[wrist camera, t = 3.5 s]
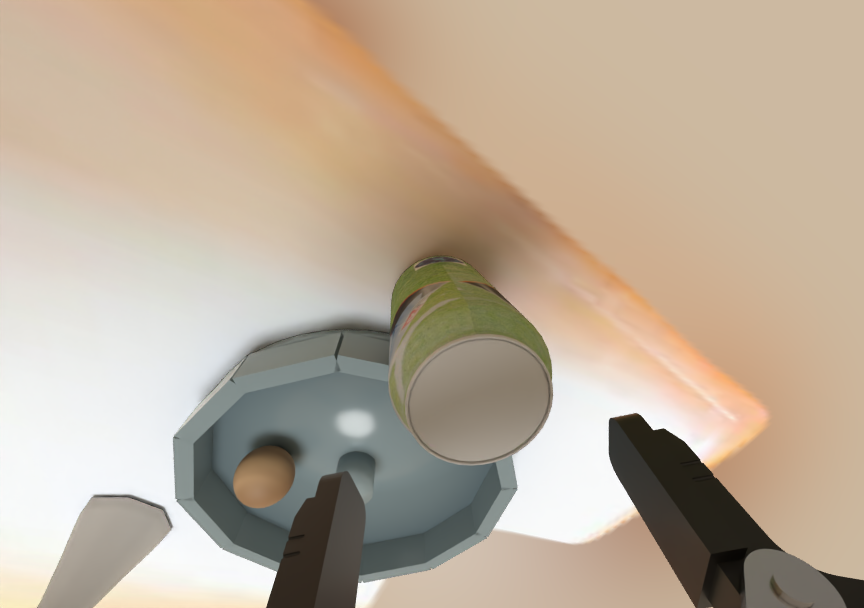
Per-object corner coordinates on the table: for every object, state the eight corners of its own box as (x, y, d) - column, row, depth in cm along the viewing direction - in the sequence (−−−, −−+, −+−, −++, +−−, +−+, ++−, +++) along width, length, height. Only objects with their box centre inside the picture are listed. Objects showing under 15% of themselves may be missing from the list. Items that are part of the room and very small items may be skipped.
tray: (134, 373, 23) (92, 410, 20) (475, 293, 22) (486, 319, 19) (282, 558, 34) (270, 600, 31) (518, 511, 33) (529, 550, 30)
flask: (176, 502, 30) (76, 661, 21) (169, 548, 33) (78, 704, 24) (81, 485, 28) (-71, 649, 19) (82, 534, 31) (-50, 697, 22)
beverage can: (389, 332, 23) (371, 503, 12) (397, 224, 20) (381, 331, 9) (480, 338, 24) (536, 507, 13) (501, 235, 21) (601, 347, 10)
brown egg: (238, 439, 25) (210, 490, 22) (289, 428, 25) (269, 477, 22) (262, 474, 27) (240, 525, 24) (310, 464, 27) (294, 514, 23)
